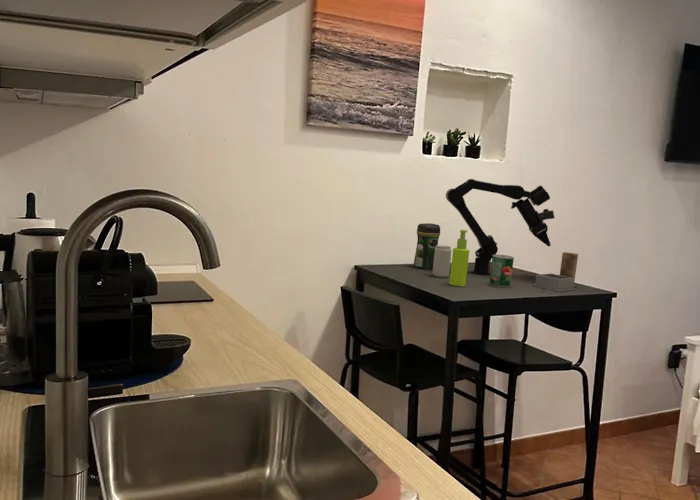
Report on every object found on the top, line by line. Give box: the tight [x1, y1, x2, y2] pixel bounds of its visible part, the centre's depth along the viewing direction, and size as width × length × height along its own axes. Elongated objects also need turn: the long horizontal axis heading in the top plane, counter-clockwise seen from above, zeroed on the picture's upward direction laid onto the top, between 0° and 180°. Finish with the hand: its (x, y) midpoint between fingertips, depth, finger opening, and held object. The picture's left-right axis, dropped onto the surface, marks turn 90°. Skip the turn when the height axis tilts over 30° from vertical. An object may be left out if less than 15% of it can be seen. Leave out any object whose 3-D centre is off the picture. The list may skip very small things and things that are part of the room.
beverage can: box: [432, 244, 453, 278], centre depth 248 cm, size 6×6×12 cm
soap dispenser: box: [448, 229, 470, 287], centre depth 233 cm, size 6×7×20 cm
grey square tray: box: [533, 272, 576, 293], centre depth 244 cm, size 11×11×4 cm
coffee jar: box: [413, 222, 441, 270], centre depth 266 cm, size 10×8×19 cm
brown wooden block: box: [559, 251, 579, 288], centre depth 250 cm, size 5×4×13 cm
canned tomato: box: [488, 254, 515, 288], centre depth 240 cm, size 8×8×11 cm
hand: (548, 245), depth 260 cm, fingers open, 9 cm apart
